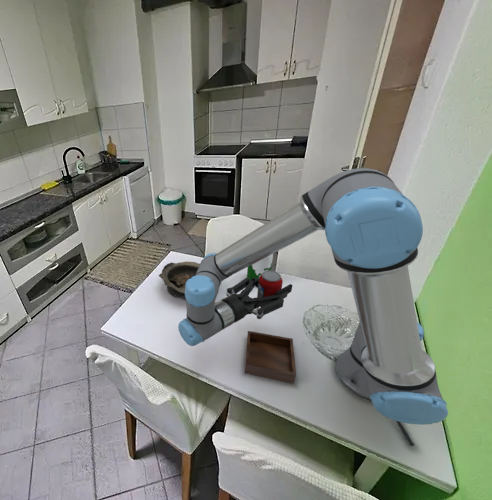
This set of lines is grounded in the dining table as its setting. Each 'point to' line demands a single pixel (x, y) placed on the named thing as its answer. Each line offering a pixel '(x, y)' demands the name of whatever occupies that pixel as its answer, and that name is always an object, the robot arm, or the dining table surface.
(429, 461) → the dining table surface
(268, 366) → the holder
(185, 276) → the stone bowl
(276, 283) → the beverage can
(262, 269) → the milk carton
